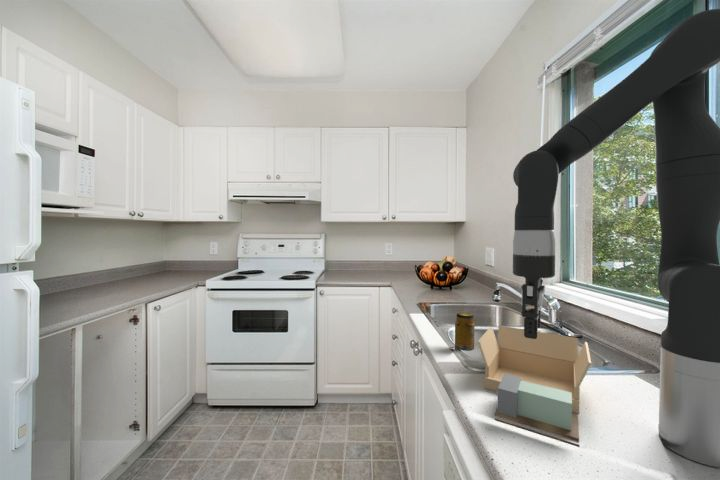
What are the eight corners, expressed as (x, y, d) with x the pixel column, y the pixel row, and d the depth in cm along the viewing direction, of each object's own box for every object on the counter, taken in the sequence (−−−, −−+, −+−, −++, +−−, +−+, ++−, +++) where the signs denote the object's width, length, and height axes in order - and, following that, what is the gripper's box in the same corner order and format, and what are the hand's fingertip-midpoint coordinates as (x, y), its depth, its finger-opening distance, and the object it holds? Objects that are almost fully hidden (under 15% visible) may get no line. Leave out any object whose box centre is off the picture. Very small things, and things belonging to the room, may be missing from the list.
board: (577, 421, 62) (577, 414, 62) (578, 447, 55) (579, 438, 55) (502, 400, 70) (502, 394, 70) (494, 420, 63) (494, 412, 63)
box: (571, 413, 63) (571, 389, 63) (571, 434, 56) (572, 407, 56) (503, 395, 70) (504, 373, 70) (497, 412, 63) (497, 388, 63)
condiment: (463, 345, 106) (464, 310, 105) (484, 353, 98) (485, 316, 98) (448, 349, 102) (448, 313, 102) (468, 358, 95) (469, 319, 95)
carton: (585, 385, 78) (586, 339, 78) (590, 421, 63) (591, 364, 62) (491, 363, 90) (492, 324, 90) (475, 389, 75) (476, 341, 75)
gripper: (554, 255, 55) (553, 346, 55) (556, 252, 67) (555, 326, 67) (507, 253, 59) (506, 338, 59) (517, 251, 71) (516, 321, 71)
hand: (532, 332), depth 63 cm, fingers open, 8 cm apart
